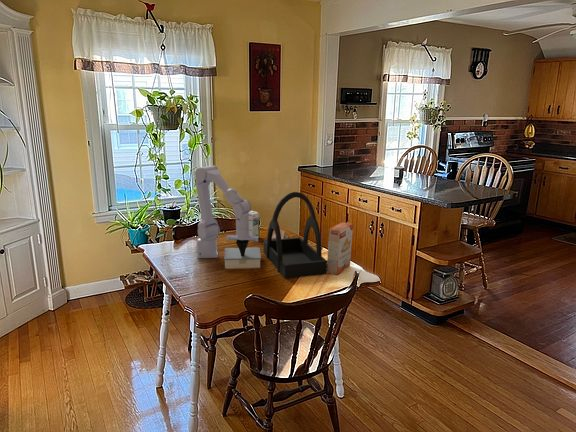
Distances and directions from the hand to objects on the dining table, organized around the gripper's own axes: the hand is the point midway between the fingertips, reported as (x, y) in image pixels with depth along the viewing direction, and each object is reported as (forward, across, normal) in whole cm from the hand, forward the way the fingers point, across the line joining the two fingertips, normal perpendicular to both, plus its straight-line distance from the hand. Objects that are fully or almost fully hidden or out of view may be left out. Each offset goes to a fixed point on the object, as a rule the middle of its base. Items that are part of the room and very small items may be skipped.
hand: (242, 255), depth 200 cm
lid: (0, +1, -3) cm, 3 cm away
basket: (+6, -23, -8) cm, 25 cm away
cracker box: (+6, -44, -2) cm, 45 cm away
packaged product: (+6, -12, -38) cm, 40 cm away
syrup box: (+5, +3, -43) cm, 43 cm away
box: (+5, +1, -4) cm, 6 cm away
